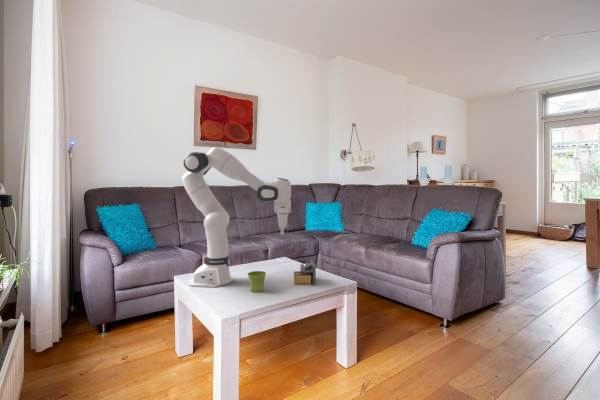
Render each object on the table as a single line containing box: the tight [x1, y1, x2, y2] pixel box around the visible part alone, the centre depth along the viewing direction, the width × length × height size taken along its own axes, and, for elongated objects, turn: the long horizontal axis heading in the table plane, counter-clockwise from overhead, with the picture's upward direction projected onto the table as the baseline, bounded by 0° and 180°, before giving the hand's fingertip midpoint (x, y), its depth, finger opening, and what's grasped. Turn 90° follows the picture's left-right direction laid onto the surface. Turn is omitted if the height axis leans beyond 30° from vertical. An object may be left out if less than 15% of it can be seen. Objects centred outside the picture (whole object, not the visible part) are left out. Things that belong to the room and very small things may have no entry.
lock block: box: [293, 271, 312, 286], centre depth 176 cm, size 9×8×5 cm
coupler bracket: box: [299, 260, 317, 286], centre depth 176 cm, size 7×12×10 cm, turn 4°
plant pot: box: [246, 270, 267, 293], centre depth 163 cm, size 9×9×9 cm
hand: (282, 234), depth 173 cm, fingers closed
